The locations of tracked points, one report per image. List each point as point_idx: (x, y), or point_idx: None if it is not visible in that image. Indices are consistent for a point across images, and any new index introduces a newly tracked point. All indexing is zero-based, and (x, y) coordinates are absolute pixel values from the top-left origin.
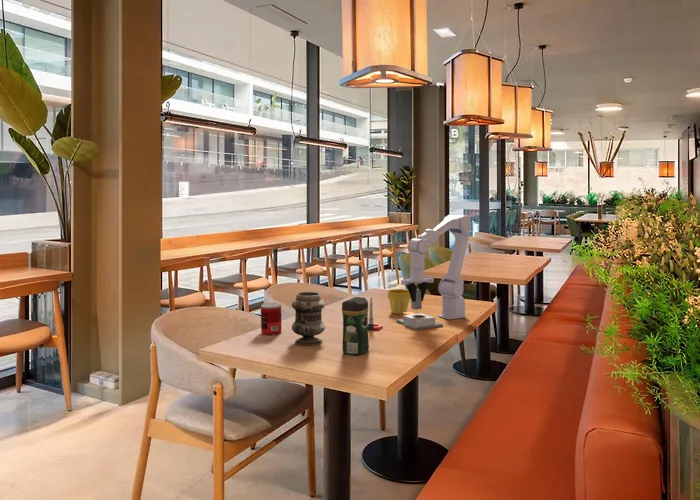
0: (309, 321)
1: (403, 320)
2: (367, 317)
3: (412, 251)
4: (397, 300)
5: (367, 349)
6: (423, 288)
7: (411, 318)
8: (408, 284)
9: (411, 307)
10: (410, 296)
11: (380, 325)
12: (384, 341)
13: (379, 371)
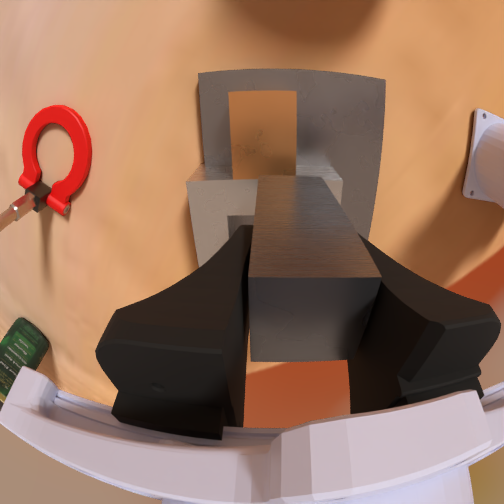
0: None
1: (225, 114)
2: None
3: None
4: None
5: (47, 349)
6: (352, 393)
7: (198, 259)
8: (127, 408)
9: (258, 179)
10: (224, 244)
11: (78, 162)
12: (76, 317)
13: (73, 393)
